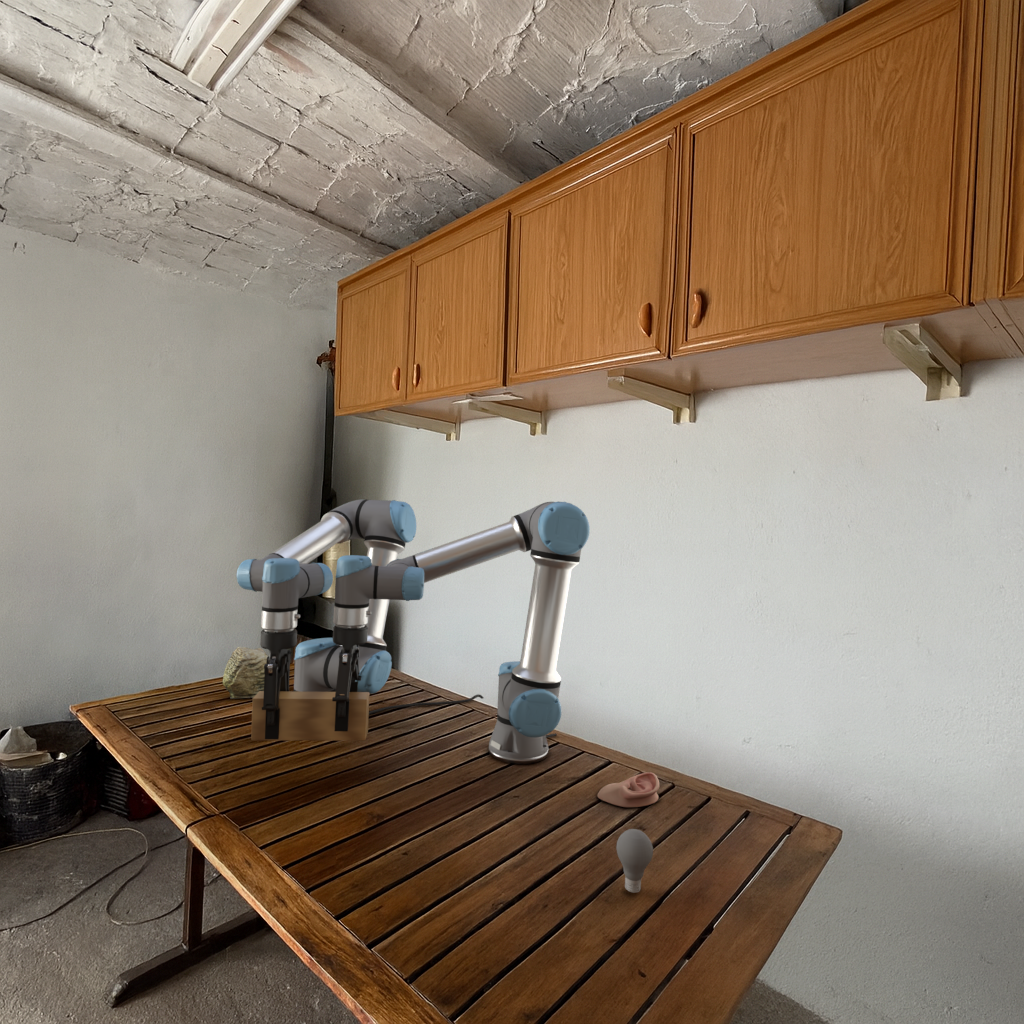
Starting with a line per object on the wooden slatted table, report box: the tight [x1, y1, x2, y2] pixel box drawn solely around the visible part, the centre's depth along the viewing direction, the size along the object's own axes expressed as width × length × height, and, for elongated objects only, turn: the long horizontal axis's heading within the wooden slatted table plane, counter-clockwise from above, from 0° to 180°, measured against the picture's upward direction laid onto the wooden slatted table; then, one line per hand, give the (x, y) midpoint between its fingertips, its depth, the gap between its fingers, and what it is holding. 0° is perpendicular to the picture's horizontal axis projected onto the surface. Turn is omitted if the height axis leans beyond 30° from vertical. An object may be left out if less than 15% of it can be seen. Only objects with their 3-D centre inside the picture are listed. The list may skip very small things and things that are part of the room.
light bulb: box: [615, 828, 654, 894], centre depth 106 cm, size 6×6×10 cm
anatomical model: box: [596, 771, 660, 808], centre depth 140 cm, size 13×4×12 cm
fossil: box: [222, 646, 269, 699], centre depth 198 cm, size 9×18×15 cm, turn 132°
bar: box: [250, 690, 370, 742], centre depth 141 cm, size 24×5×9 cm, turn 96°
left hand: (275, 733), depth 140 cm, fingers closed on bar, 5 cm apart
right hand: (346, 719), depth 141 cm, fingers open, 13 cm apart
